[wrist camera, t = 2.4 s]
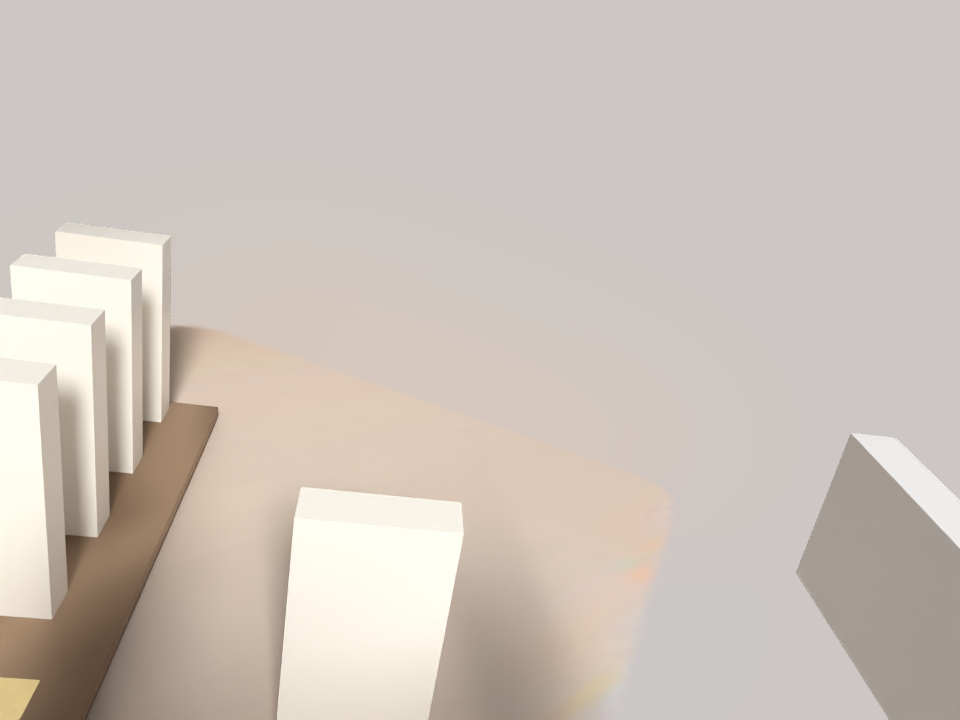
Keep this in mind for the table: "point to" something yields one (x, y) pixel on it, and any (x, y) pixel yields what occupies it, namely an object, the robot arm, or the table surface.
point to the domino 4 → (31, 492)
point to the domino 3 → (70, 397)
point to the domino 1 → (156, 286)
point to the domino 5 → (367, 605)
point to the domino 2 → (123, 329)
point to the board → (102, 578)
